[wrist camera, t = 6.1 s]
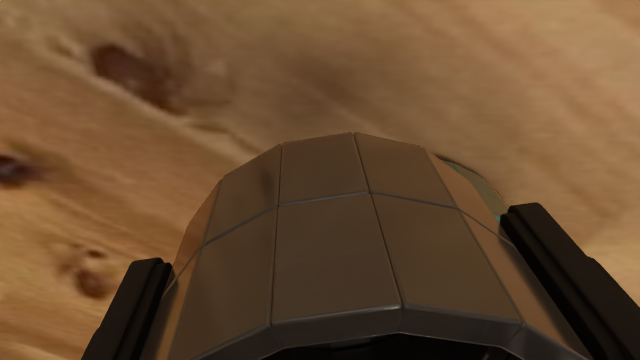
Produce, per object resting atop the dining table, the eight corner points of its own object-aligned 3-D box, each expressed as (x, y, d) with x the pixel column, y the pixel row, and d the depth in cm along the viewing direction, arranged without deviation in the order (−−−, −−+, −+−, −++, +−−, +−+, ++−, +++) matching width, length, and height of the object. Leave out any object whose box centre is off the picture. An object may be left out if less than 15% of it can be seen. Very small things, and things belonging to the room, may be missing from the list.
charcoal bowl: (230, 370, 12) (196, 604, 8) (145, 152, 9) (5, 361, 5) (476, 336, 12) (575, 557, 8) (490, 98, 9) (683, 265, 4)
